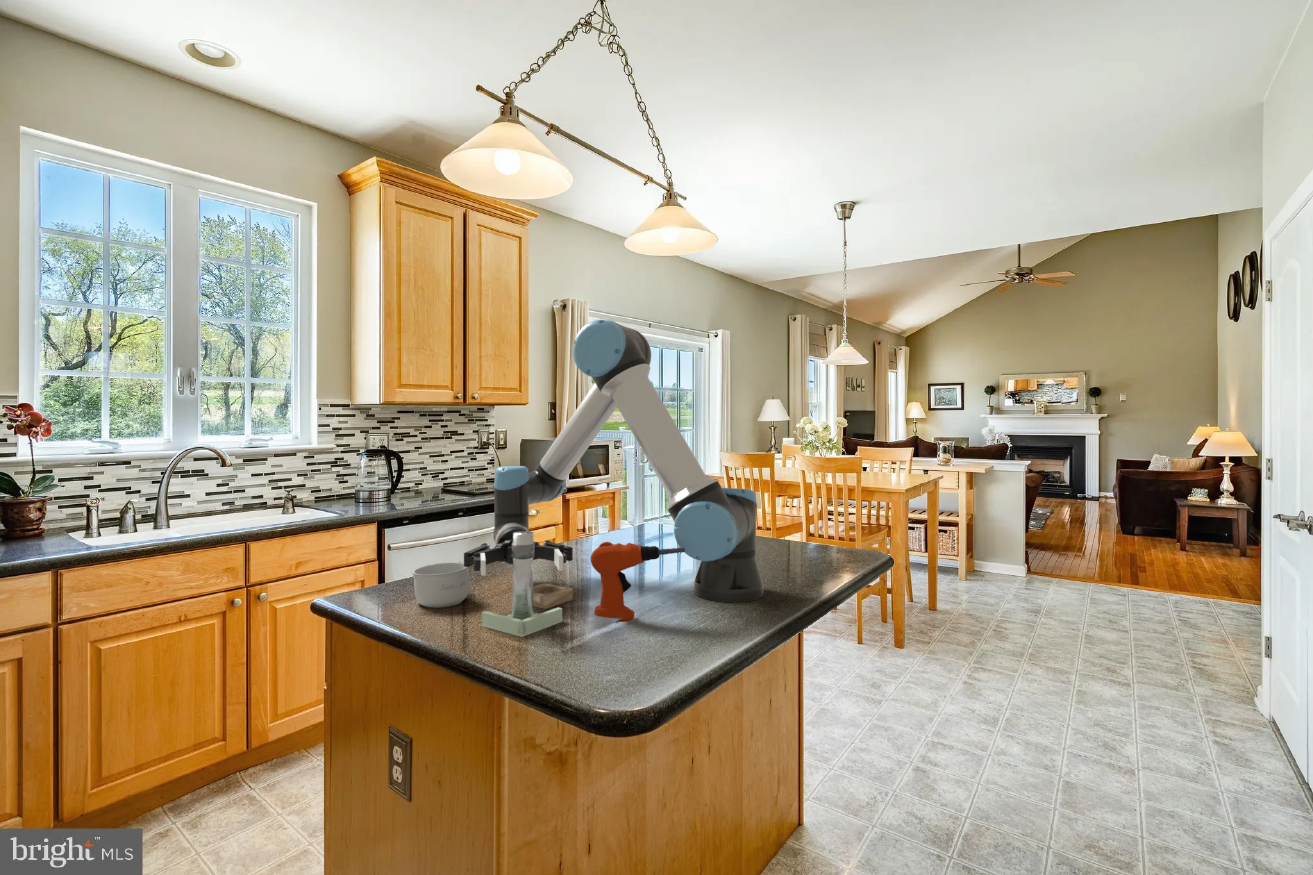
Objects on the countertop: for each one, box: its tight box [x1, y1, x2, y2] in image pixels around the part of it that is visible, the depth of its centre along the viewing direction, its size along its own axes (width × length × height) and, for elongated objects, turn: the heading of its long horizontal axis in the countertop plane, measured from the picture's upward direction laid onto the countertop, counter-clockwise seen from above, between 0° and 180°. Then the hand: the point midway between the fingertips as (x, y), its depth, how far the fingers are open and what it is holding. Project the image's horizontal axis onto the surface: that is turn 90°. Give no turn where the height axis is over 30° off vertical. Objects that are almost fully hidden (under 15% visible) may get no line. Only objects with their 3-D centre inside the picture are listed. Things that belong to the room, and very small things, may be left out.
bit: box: [511, 530, 535, 620], centre depth 112 cm, size 4×4×16 cm
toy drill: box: [590, 541, 685, 623], centre depth 117 cm, size 5×19×15 cm, turn 82°
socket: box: [533, 582, 574, 610], centre depth 127 cm, size 8×8×3 cm
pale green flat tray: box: [481, 607, 563, 638], centre depth 112 cm, size 10×10×3 cm
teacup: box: [412, 560, 470, 609], centre depth 127 cm, size 14×11×8 cm
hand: (522, 565), depth 110 cm, fingers open, 13 cm apart
